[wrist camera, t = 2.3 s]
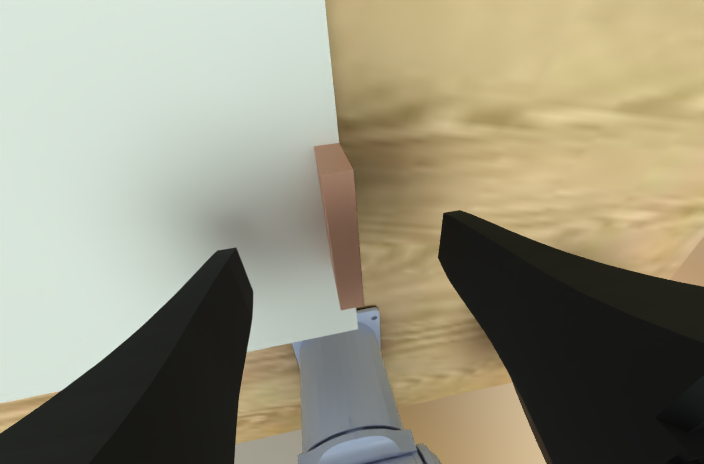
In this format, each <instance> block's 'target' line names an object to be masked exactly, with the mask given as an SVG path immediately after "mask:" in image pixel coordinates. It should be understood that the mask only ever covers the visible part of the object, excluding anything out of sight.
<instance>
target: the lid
mask: <svg viewBox="0 0 704 464" xmlns="http://www.w3.org/2000/svg"><path fill="white" fill-rule="evenodd" d="M230 248H237V250H238V253H239V256H240V258H241V261H242V263H243V266H244V269H245V271H246V274H247V276H248V279H249V282H250V284H251V287H252V289H253V317H252V324H251V330H250V336H249V342H248V347H247V352H250V351H255V350H260V349H265V348H269V347H274V346H279V345H284V344H289V343H294V342H298V341H303V340H308V339H313V338H318V337H323V336H327V335H332V334H337V333H342V332H347V331H352V330H356V329H358V322H357V312H356V307H361V306H364V297H363V285H362V272H361V259H360V246H359V233H358V221H357V208H356V195H355V182H354V170H353V168H352V166H351V164H350V162H349V160H348V158H347V157H346V155H345V153H344V151H343V149H342V147H341V145H340V143H339V136H338V126H337V116H336V106H335V97H334V87H333V77H332V67H331V57H330V48H329V38H328V28H327V18H326V8H325V0H0V403H4V402H9V401H13V400H18V399H23V398H28V397H33V396H38V395H42V394H47V393H52V392H57V391H62V390H63V389H64V388H66V387H67V386H68V385H70V384H71V383H72V382H74V381H75V380H76V379H78V378H79V377H80V376H82V375H83V374H84V373H86V372H87V371H88V370H90V369H91V368H92V367H94V366H95V365H96V364H97V363H99V362H100V361H101V360H102V359H104V358H105V357H106V356H107V355H109V354H110V353H111V352H112V351H113V350H115V349H116V348H117V347H118V346H119V345H121V344H122V343H123V342H124V341H125V340H127V339H128V338H129V337H130V336H131V335H132V334H134V333H135V332H136V331H137V330H138V329H139V328H140V327H141V326H143V325H144V324H145V323H146V322H147V321H148V320H149V319H150V318H151V317H152V316H153V315H154V314H155V313H156V312H157V311H158V310H159V309H160V308H161V307H162V306H163V305H165V304H166V303H167V302H168V301H169V300H170V299H171V298H172V297H173V296H174V295H175V294H176V293H177V292H178V291H179V290H180V289H181V288H182V287H183V285H184V284H185V283H186V282H187V281H188V280H189V279H190V278H191V277H192V276H193V275H194V274H195V273H196V272H197V271H198V270H199V269H200V268H201V267H202V265H203V264H204V263H205V262H206V261H207V260H208V259H209V258H210V257H211V256H212V255H213V254H214V253H215V252H216V251H218V250H224V249H230Z"/></svg>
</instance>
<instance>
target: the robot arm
mask: <svg viewBox="0 0 704 464" xmlns="http://www.w3.org/2000/svg"><path fill="white" fill-rule="evenodd" d="M438 259H439V261H440V263H441V265H442V267H443V269H444V271H445V273H446V275H447V277H448V279H449V281H450V282H451V284H452V285H453V287H454V288H455V290H456V291H457V293H458V294H459V296H460V297H461V298H462V300H463V301H464V303H465V304H466V306H467V307H468V309H469V310H470V311H471V313H472V314H473V316H474V317H475V319H476V320H477V321H478V323H479V324H480V326H481V327H482V329H483V330H484V331H485V333H486V335H487V336H488V338H489V339H490V341H491V342H492V344H493V346H494V348H495V349H496V351H497V353H498V355H499V357H500V358H501V360H502V362H503V364H504V366H505V367H506V369H507V371H508V373H509V375H510V377H511V379H512V380H513V382H514V384H515V386H516V388H517V390H518V392H519V394H520V396H521V398H522V400H523V402H524V404H525V406H526V408H527V410H528V412H529V414H530V416H531V418H532V420H533V422H534V424H535V426H536V428H537V430H538V432H539V434H540V437H541V439H542V441H543V443H544V445H545V448H546V450H547V452H548V454H549V456H550V459H551V461H552V463H553V464H704V287H702V286H696V285H691V284H686V283H681V282H676V281H672V280H667V279H663V278H658V277H654V276H649V275H645V274H641V273H637V272H633V271H629V270H625V269H621V268H617V267H613V266H610V265H606V264H603V263H599V262H596V261H592V260H589V259H586V258H583V257H580V256H576V255H573V254H570V253H567V252H564V251H561V250H558V249H555V248H553V247H550V246H547V245H545V244H542V243H539V242H537V241H534V240H531V239H529V238H526V237H524V236H521V235H519V234H517V233H514V232H512V231H509V230H507V229H505V228H502V227H500V226H498V225H495V224H493V223H491V222H488V221H486V220H484V219H481V218H479V217H477V216H474V215H472V214H469V213H466V212H463V211H460V210H459V211H453V212H447V213H443V221H442V230H441V238H440V246H439V254H438ZM356 312H357V322H358V329H356V330H352V331H347V332H342V333H337V334H332V335H327V336H323V337H318V338H313V339H308V340H303V341H298V342H294V343H292V346H293V349H294V352H295V355H296V358H297V361H298V364H299V367H300V387H301V422H302V453H301V454H299V455H298V464H441V462H440V460H439V459H438V457H437V456H436V455H435V454H434V453H433V452H432V451H430V450H429V449H428V447H427V446H426V445H424V444H421V443H420V444H415V442H414V439H413V435H412V432H411V430H410V429H406V430H404V428H403V425H402V422H401V418H400V415H399V412H398V408H397V405H396V402H395V398H394V395H393V392H392V388H391V385H390V382H389V378H388V375H387V372H386V368H385V365H384V362H383V358H382V355H381V343H380V313H379V310H378V308H376V307H373V308H368V309H363V310H358V311H356ZM373 316H374V317H373ZM252 317H253V289H252V287H251V284H250V282H249V279H248V276H247V274H246V271H245V269H244V266H243V263H242V261H241V258H240V256H239V253H238V250H237V248H230V249H224V250H218V251H216V252H215V253H214V254H213V255H212V256H211V257H210V258H209V259H208V260H207V261H206V262H205V263H204V264H203V265H202V267H201V268H200V269H199V270H198V271H197V272H196V273H195V274H194V275H193V276H192V277H191V278H190V279H189V280H188V281H187V282H186V283H185V284H184V285H183V287H182V288H181V289H180V290H179V291H178V292H177V293H176V294H175V295H174V296H173V297H172V298H171V299H170V300H169V301H168V302H167V303H166V304H165V305H163V306H162V307H161V308H160V309H159V310H158V311H157V312H156V313H155V314H154V315H153V316H152V317H151V318H150V319H149V320H148V321H147V322H146V323H145V324H144V325H143V326H141V327H140V328H139V329H138V330H137V331H136V332H135V333H134V334H132V335H131V336H130V337H129V338H128V339H127V340H125V341H124V342H123V343H122V344H121V345H119V346H118V347H117V348H116V349H115V350H113V351H112V352H111V353H110V354H109V355H107V356H106V357H105V358H104V359H102V360H101V361H100V362H99V363H97V364H96V365H95V366H94V367H92V368H91V369H90V370H88V371H87V372H86V373H84V374H83V375H82V376H80V377H79V378H78V379H76V380H75V381H74V382H72V383H71V384H70V385H68V386H67V387H66V388H64V389H63V390H62V391H60V392H59V393H58V394H56V395H55V396H54V397H52V398H51V399H50V400H48V401H47V402H45V403H44V404H43V405H41V406H40V407H38V408H37V409H35V410H34V411H33V412H31V413H30V414H28V415H27V416H25V417H24V418H22V419H21V420H20V421H18V422H17V423H15V424H14V425H12V426H11V427H9V428H8V429H6V430H5V431H3V432H2V433H0V464H234V456H235V439H236V426H237V413H238V401H239V393H240V386H241V380H242V375H243V369H244V364H245V358H246V353H247V347H248V342H249V336H250V330H251V324H252Z"/></svg>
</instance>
